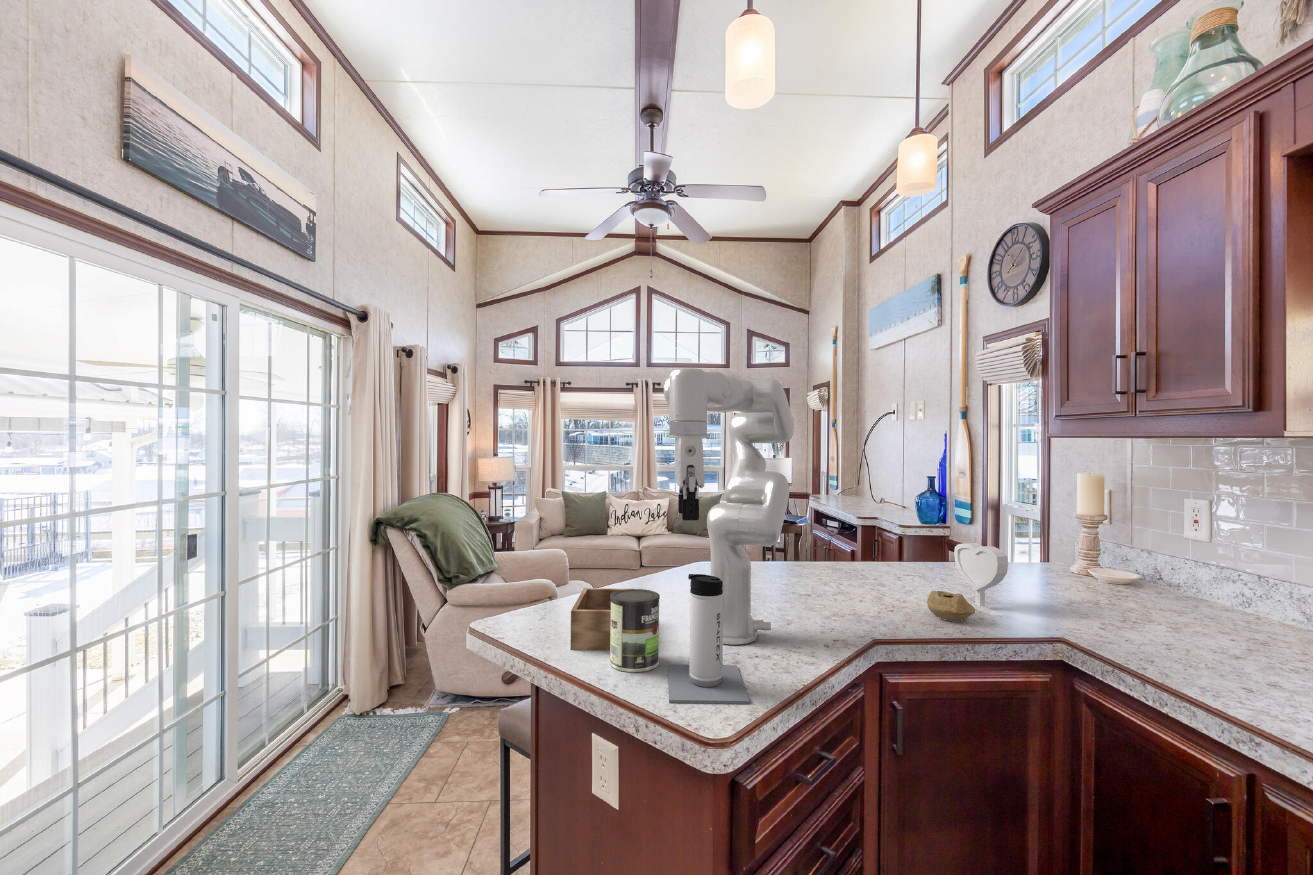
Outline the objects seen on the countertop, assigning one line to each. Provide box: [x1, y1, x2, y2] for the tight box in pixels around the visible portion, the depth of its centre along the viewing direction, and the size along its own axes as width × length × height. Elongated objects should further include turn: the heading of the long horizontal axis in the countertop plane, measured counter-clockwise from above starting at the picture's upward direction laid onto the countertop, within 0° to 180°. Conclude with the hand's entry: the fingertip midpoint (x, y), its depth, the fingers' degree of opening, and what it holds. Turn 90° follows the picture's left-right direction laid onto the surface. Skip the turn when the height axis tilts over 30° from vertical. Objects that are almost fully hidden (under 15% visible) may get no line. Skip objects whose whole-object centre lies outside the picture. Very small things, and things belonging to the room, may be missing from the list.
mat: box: [667, 663, 750, 705], centre depth 105 cm, size 14×16×1 cm
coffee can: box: [609, 588, 661, 673], centre depth 115 cm, size 10×10×14 cm
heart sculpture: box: [953, 542, 1009, 608], centre depth 157 cm, size 16×5×18 cm, turn 13°
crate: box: [569, 587, 627, 651], centre depth 132 cm, size 13×20×8 cm, turn 179°
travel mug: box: [687, 573, 724, 687], centre depth 105 cm, size 6×7×20 cm
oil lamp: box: [926, 590, 976, 622], centre depth 148 cm, size 11×15×8 cm
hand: (688, 516), depth 110 cm, fingers open, 9 cm apart
